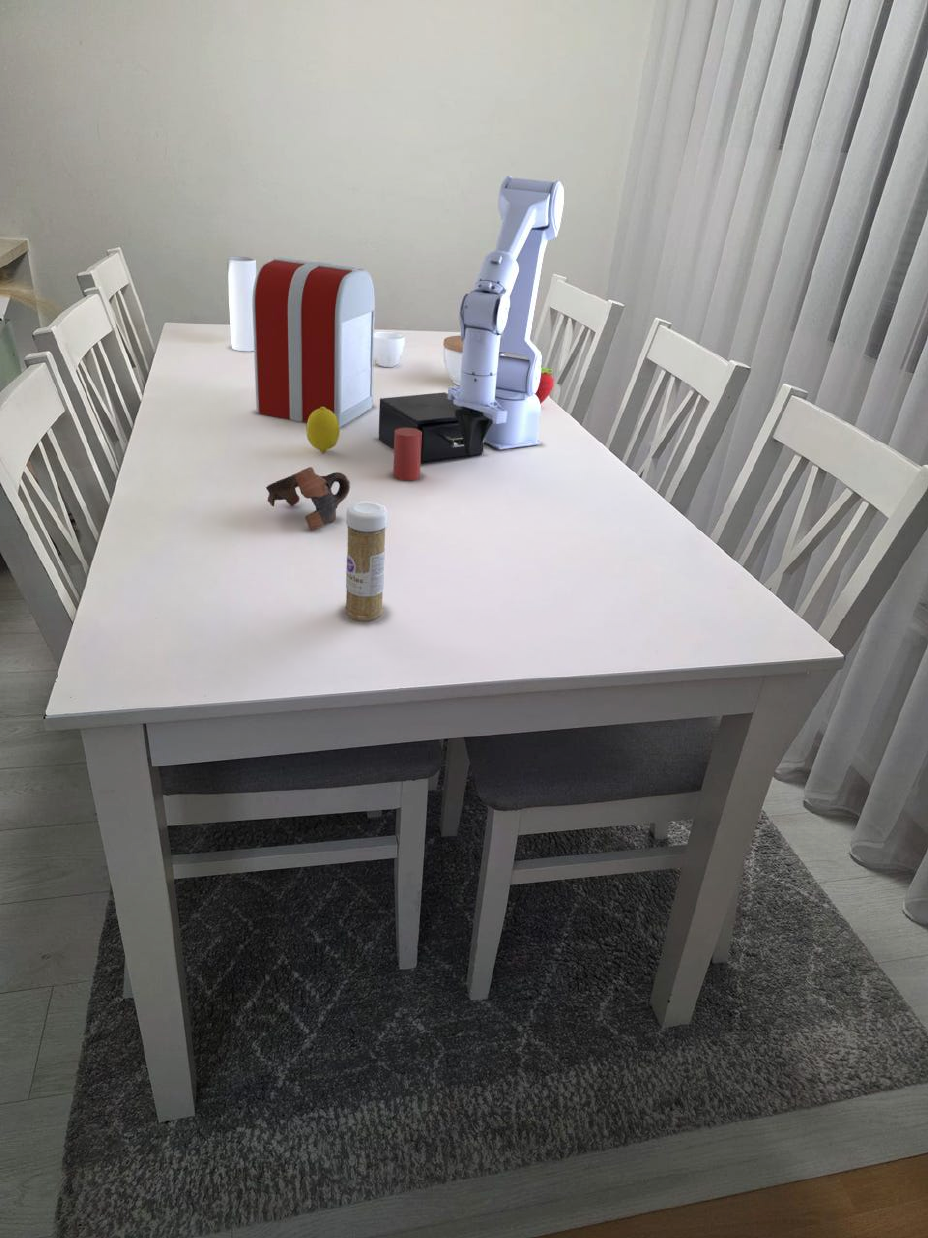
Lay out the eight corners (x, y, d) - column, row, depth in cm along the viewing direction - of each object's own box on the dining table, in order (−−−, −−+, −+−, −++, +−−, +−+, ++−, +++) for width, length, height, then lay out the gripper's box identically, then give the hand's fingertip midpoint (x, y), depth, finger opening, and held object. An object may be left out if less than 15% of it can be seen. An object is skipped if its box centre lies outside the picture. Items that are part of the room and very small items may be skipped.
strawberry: (542, 402, 190) (548, 355, 185) (555, 412, 184) (562, 364, 179) (516, 402, 189) (521, 354, 184) (529, 412, 182) (534, 364, 177)
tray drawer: (497, 461, 153) (500, 428, 150) (436, 470, 146) (438, 436, 144) (446, 431, 165) (448, 400, 162) (387, 438, 158) (388, 406, 156)
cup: (406, 369, 205) (407, 339, 202) (363, 368, 202) (364, 338, 199) (400, 360, 211) (401, 331, 208) (358, 360, 209) (359, 330, 205)
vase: (232, 351, 208) (227, 260, 198) (231, 343, 214) (226, 255, 204) (280, 352, 211) (278, 262, 201) (279, 344, 217) (276, 257, 207)
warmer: (481, 454, 157) (485, 413, 154) (415, 464, 151) (417, 420, 147) (442, 431, 167) (444, 392, 163) (378, 439, 160) (379, 398, 157)
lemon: (333, 459, 149) (333, 413, 146) (302, 455, 150) (301, 409, 146) (343, 449, 154) (344, 404, 150) (313, 445, 155) (312, 400, 151)
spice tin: (411, 469, 148) (413, 426, 144) (424, 478, 145) (427, 434, 141) (388, 473, 146) (389, 429, 142) (401, 482, 143) (403, 437, 139)
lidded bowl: (506, 383, 201) (511, 333, 196) (478, 394, 192) (482, 342, 186) (460, 372, 207) (464, 323, 201) (430, 382, 197) (433, 331, 192)
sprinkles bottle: (337, 612, 105) (337, 506, 98) (364, 599, 108) (367, 496, 101) (364, 626, 102) (366, 519, 96) (391, 613, 105) (396, 508, 99)
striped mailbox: (338, 428, 164) (339, 274, 151) (253, 412, 168) (247, 261, 155) (374, 406, 178) (378, 263, 165) (295, 392, 182) (293, 252, 169)
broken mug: (295, 540, 122) (269, 484, 120) (277, 543, 130) (253, 491, 128) (369, 505, 127) (345, 451, 125) (347, 510, 135) (324, 460, 133)
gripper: (434, 361, 144) (429, 442, 151) (483, 385, 134) (475, 470, 140) (470, 359, 147) (464, 437, 154) (521, 381, 137) (512, 465, 144)
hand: (472, 453), depth 147 cm, fingers closed
